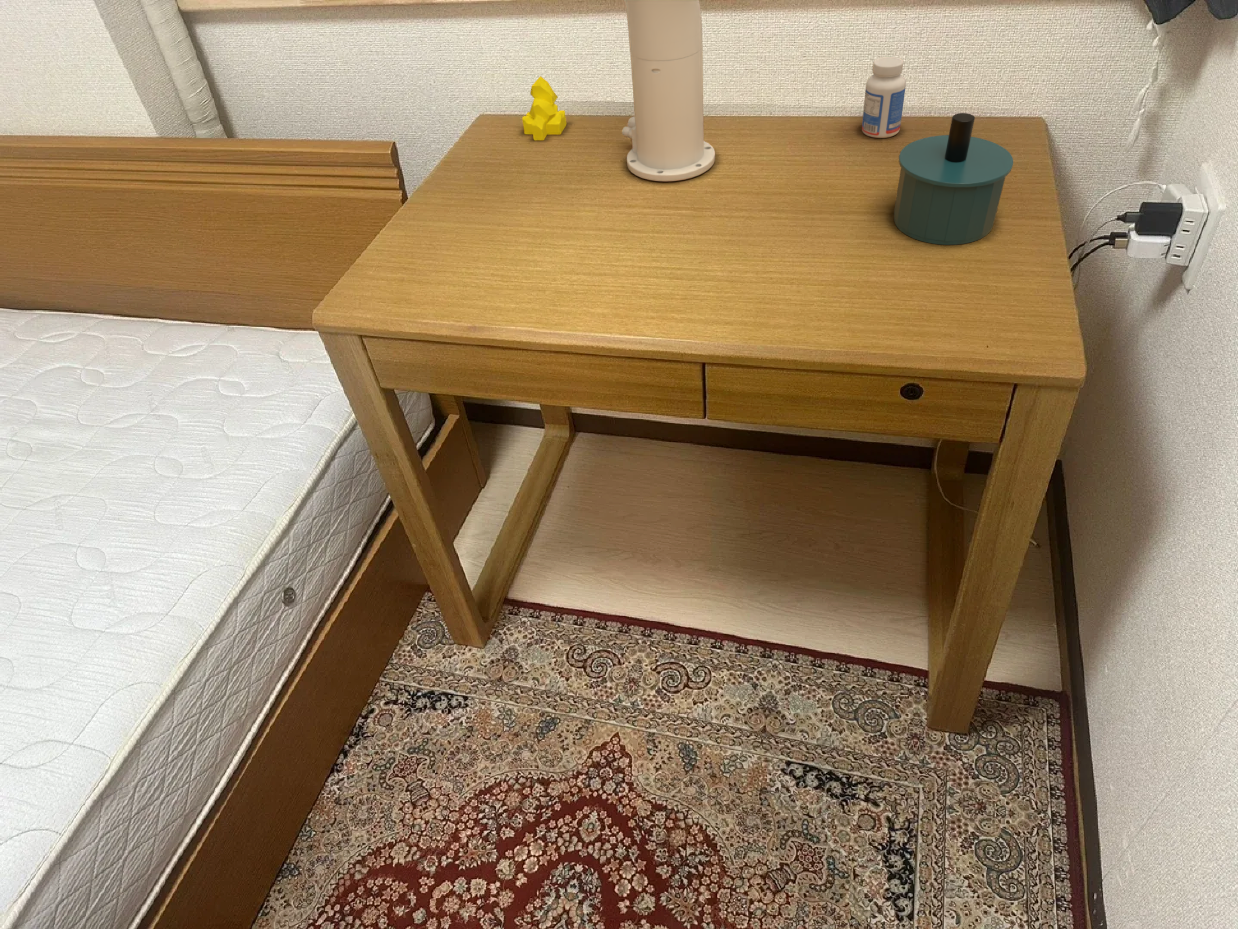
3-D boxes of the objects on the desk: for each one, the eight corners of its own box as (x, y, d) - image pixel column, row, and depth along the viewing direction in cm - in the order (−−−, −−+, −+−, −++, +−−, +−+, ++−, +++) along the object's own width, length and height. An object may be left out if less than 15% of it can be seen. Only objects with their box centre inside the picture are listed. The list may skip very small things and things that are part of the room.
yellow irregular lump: (520, 139, 132) (512, 88, 127) (535, 118, 138) (527, 68, 132) (556, 140, 131) (549, 88, 125) (569, 118, 136) (563, 68, 131)
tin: (874, 223, 106) (882, 165, 100) (928, 189, 111) (939, 132, 106) (958, 255, 99) (971, 195, 94) (1011, 217, 104) (1027, 158, 99)
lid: (876, 171, 101) (882, 121, 97) (937, 134, 106) (945, 86, 102) (972, 203, 94) (983, 151, 90) (1032, 162, 99) (1046, 111, 95)
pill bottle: (897, 122, 126) (907, 52, 119) (902, 138, 122) (912, 67, 115) (858, 123, 126) (866, 54, 120) (862, 139, 123) (871, 69, 116)
